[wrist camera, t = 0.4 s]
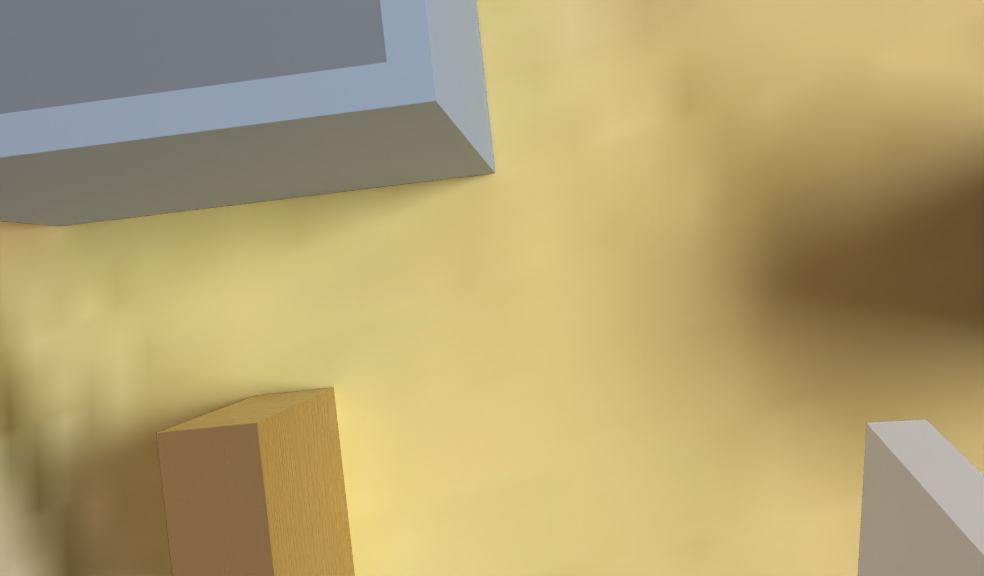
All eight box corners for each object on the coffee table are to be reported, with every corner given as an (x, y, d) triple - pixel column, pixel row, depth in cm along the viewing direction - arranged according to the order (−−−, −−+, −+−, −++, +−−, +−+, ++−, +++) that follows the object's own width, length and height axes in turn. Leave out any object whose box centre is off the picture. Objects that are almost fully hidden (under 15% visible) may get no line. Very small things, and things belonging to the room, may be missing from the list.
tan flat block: (354, 578, 29) (285, 673, 22) (277, 585, 30) (184, 681, 23) (333, 387, 29) (257, 422, 22) (256, 395, 30) (156, 432, 23)
